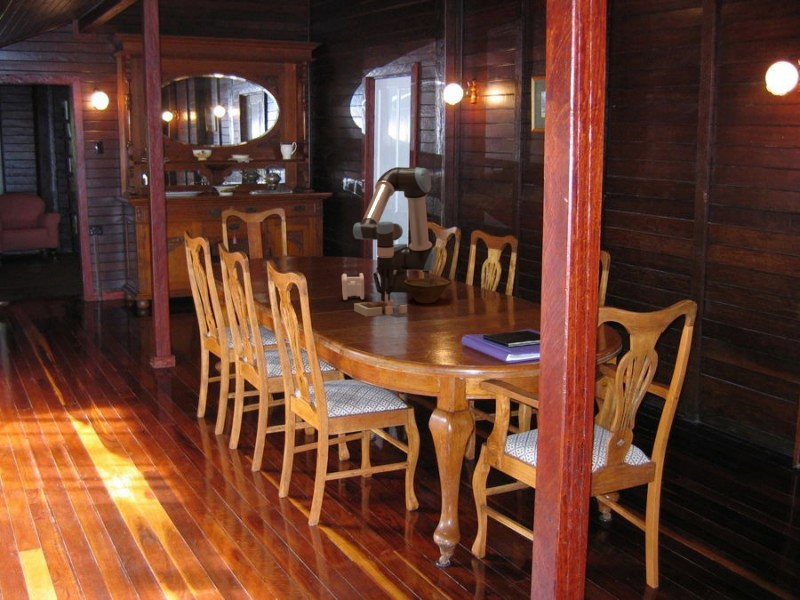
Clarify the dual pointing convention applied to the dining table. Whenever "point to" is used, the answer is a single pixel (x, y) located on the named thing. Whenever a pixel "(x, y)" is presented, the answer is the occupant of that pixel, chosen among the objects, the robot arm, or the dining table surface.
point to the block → (377, 305)
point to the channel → (392, 305)
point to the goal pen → (367, 310)
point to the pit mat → (400, 315)
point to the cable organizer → (353, 286)
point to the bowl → (426, 289)
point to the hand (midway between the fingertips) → (385, 307)
